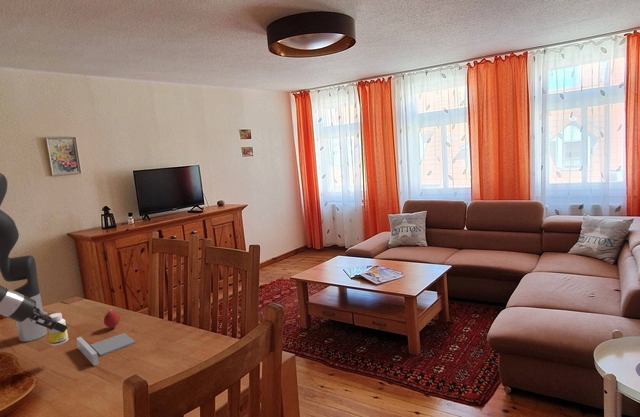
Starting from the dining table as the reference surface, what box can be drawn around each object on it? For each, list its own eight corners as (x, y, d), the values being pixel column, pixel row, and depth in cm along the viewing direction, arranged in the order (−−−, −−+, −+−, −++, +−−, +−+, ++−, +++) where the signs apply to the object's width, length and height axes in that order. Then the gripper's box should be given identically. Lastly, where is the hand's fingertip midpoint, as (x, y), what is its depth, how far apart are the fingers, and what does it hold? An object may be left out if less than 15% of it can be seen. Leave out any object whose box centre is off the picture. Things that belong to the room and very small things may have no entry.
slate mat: (90, 345, 148) (90, 344, 147) (124, 334, 156) (124, 332, 156) (100, 355, 139) (100, 354, 139) (135, 342, 147) (135, 341, 147)
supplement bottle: (55, 338, 138) (51, 312, 136) (71, 337, 138) (67, 311, 137) (46, 346, 133) (41, 319, 131) (63, 345, 133) (58, 317, 131)
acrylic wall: (78, 348, 146) (76, 338, 146) (82, 346, 147) (80, 336, 147) (94, 366, 132) (92, 354, 132) (99, 364, 133) (97, 353, 133)
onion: (114, 331, 159) (111, 312, 158) (102, 331, 160) (99, 312, 159) (124, 325, 164) (121, 307, 163) (112, 325, 166) (109, 306, 164)
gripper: (26, 300, 122) (76, 322, 132) (19, 290, 132) (66, 312, 142) (8, 322, 119) (60, 343, 129) (2, 310, 130) (51, 331, 140)
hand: (63, 327), depth 136 cm, fingers closed on supplement bottle, 5 cm apart
